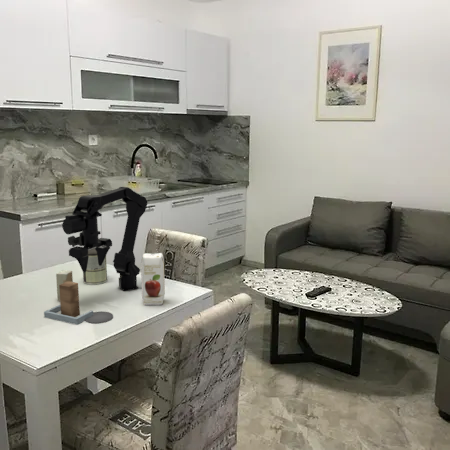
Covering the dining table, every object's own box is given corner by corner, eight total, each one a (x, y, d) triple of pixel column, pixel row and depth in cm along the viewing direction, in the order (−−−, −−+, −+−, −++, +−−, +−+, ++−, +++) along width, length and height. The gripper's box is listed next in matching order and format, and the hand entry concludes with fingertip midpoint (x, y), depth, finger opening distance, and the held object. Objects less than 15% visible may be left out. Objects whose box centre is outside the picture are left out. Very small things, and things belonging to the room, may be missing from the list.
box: (67, 301, 187) (65, 274, 185) (57, 301, 188) (55, 273, 186) (74, 297, 192) (72, 270, 190) (64, 296, 193) (62, 269, 191)
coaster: (107, 310, 179) (107, 309, 179) (117, 319, 171) (117, 318, 171) (80, 315, 174) (80, 314, 174) (89, 325, 166) (88, 324, 165)
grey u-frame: (61, 309, 180) (61, 303, 180) (93, 316, 174) (93, 310, 173) (44, 316, 173) (43, 311, 172) (76, 324, 166) (76, 319, 166)
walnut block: (70, 312, 177) (68, 281, 174) (79, 314, 175) (78, 283, 172) (61, 316, 173) (59, 284, 170) (70, 319, 171) (69, 286, 168)
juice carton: (143, 299, 191) (141, 252, 187) (165, 298, 192) (164, 252, 188) (141, 306, 184) (140, 257, 180) (164, 305, 184) (163, 257, 181)
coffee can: (78, 281, 211) (76, 250, 208) (97, 276, 219) (95, 245, 217) (93, 286, 205) (92, 254, 203) (112, 280, 214) (111, 249, 211)
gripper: (89, 222, 195) (91, 260, 198) (55, 232, 178) (58, 273, 182) (112, 225, 190) (114, 263, 194) (79, 235, 174) (82, 277, 177)
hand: (92, 268), depth 187 cm, fingers open, 9 cm apart
